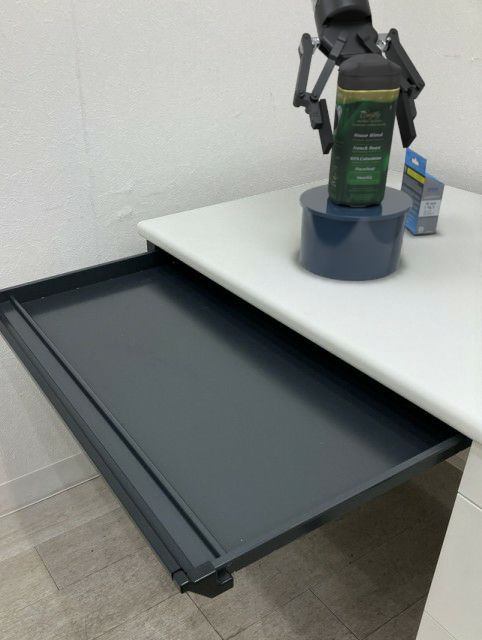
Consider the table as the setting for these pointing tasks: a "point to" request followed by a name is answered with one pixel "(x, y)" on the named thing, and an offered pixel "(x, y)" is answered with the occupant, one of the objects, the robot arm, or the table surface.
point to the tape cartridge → (421, 195)
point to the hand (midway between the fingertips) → (369, 145)
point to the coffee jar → (363, 129)
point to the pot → (352, 235)
